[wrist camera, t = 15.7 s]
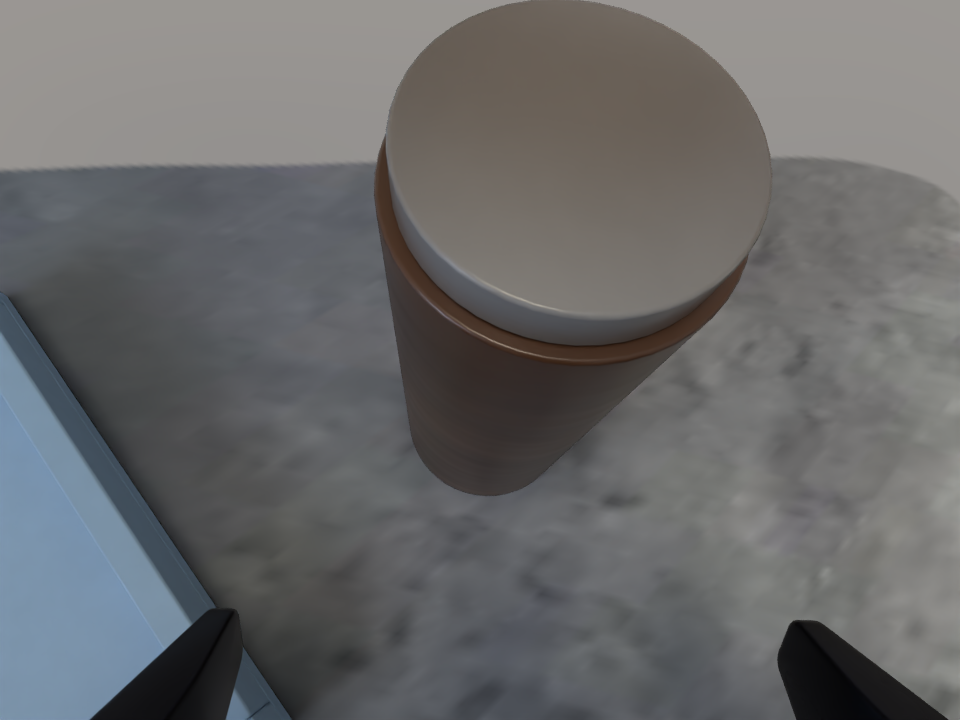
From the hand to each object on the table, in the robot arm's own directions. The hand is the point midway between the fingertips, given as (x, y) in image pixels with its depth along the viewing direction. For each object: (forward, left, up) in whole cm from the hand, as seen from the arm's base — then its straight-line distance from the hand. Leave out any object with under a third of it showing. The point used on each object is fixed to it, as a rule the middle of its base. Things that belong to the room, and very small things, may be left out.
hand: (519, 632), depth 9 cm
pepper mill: (+3, -5, -7) cm, 9 cm away
